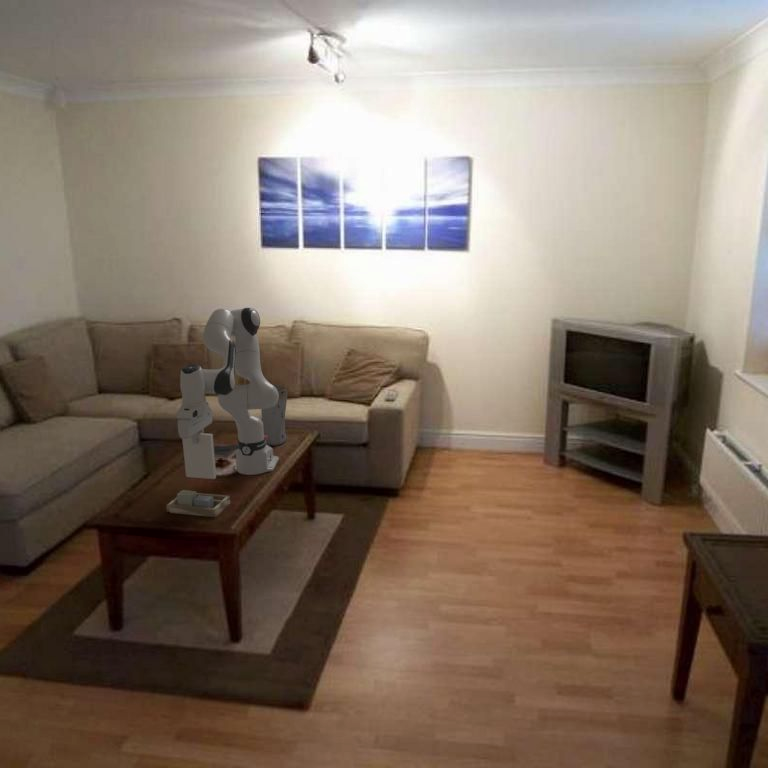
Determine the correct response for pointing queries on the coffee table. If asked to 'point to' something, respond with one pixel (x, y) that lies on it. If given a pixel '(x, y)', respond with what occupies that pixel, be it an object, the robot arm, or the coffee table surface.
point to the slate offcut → (204, 501)
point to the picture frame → (224, 451)
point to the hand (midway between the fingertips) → (197, 441)
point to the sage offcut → (186, 498)
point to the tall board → (200, 457)
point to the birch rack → (219, 506)
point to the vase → (275, 419)
